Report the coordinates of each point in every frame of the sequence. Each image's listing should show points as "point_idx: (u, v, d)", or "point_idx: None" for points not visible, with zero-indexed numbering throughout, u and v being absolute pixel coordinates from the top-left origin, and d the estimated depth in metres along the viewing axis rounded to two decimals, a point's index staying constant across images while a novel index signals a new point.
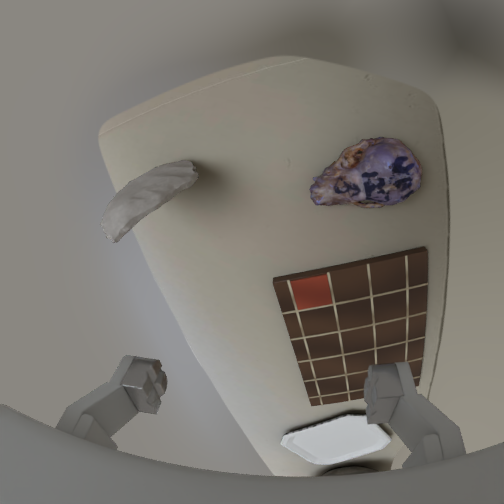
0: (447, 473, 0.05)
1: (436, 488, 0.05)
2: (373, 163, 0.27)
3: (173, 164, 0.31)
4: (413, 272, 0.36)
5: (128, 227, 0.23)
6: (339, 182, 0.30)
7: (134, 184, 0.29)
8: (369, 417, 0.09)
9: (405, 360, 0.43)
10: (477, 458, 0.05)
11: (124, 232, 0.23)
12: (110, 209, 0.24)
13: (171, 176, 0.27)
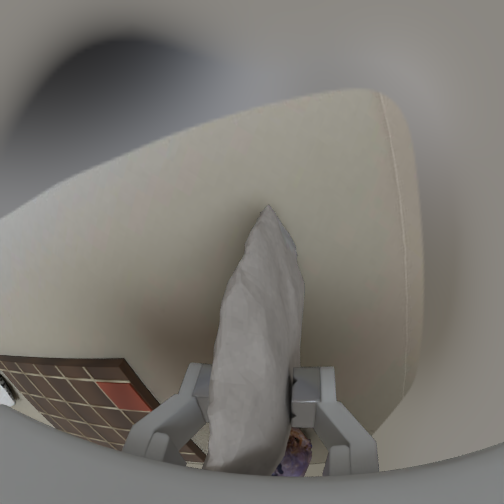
0: (447, 473, 0.05)
1: (436, 488, 0.05)
2: (291, 469, 0.25)
3: None
4: None
5: None
6: None
7: (285, 299, 0.12)
8: (291, 420, 0.10)
9: (87, 437, 0.37)
10: (477, 458, 0.05)
11: None
12: (262, 426, 0.08)
13: None
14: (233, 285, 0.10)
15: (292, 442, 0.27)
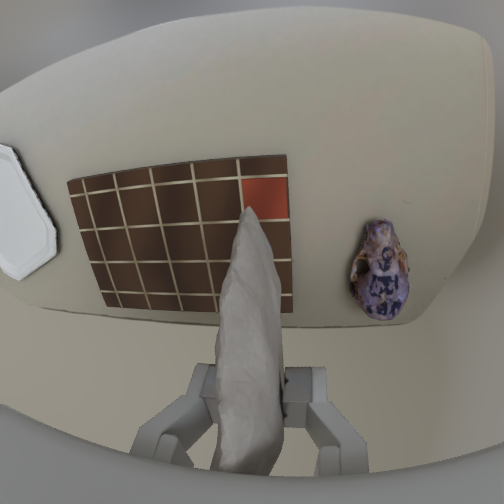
0: (447, 473, 0.05)
1: (437, 488, 0.05)
2: (403, 286, 0.32)
3: None
4: None
5: None
6: (391, 252, 0.32)
7: (270, 298, 0.13)
8: (283, 419, 0.10)
9: (148, 292, 0.42)
10: (477, 458, 0.05)
11: None
12: (267, 421, 0.08)
13: None
14: (230, 284, 0.10)
15: (399, 265, 0.34)
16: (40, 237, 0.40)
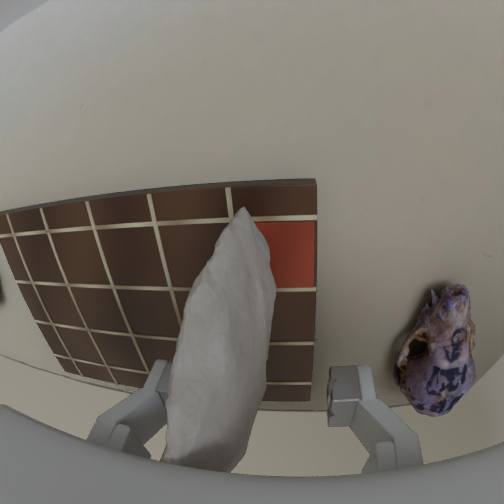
0: (447, 473, 0.05)
1: (436, 488, 0.05)
2: (471, 376, 0.18)
3: None
4: (279, 389, 0.26)
5: None
6: (464, 334, 0.18)
7: (252, 300, 0.13)
8: (328, 419, 0.10)
9: (110, 366, 0.28)
10: (477, 458, 0.05)
11: None
12: (219, 422, 0.08)
13: None
14: (199, 284, 0.10)
15: None
16: None
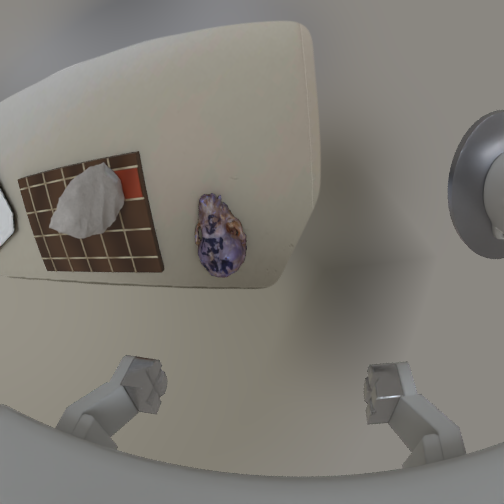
0: (447, 473, 0.05)
1: (436, 488, 0.05)
2: (229, 246, 0.43)
3: (117, 200, 0.42)
4: (144, 261, 0.50)
5: (60, 232, 0.32)
6: (216, 219, 0.42)
7: (96, 188, 0.37)
8: (368, 417, 0.09)
9: (69, 257, 0.52)
10: (477, 458, 0.05)
11: (56, 230, 0.32)
12: (69, 206, 0.32)
13: (102, 223, 0.38)
14: (75, 177, 0.34)
15: (233, 231, 0.45)
16: (4, 220, 0.50)
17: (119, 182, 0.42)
